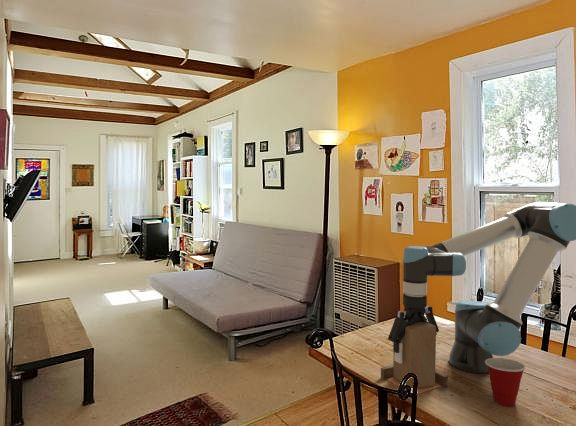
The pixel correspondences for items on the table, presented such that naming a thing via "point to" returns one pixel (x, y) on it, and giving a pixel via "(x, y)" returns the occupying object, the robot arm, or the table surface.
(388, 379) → the tile
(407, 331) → the block
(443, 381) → the arena
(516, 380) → the plastic cup
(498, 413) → the table surface
